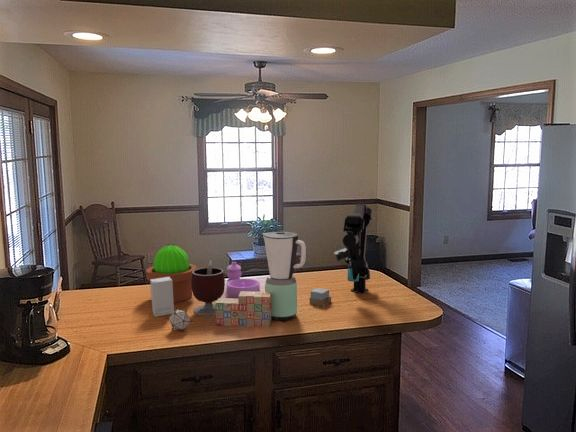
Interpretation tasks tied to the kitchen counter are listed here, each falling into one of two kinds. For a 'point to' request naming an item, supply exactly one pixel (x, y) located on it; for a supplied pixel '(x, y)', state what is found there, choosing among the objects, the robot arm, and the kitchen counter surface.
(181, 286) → the potted cactus
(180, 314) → the game die
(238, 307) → the stack of blocks
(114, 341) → the kitchen counter surface
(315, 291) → the tower top
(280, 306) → the blender
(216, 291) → the mate gourd
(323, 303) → the tower base
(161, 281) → the skincare box
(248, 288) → the purple toy boat
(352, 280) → the teal domed cylinder
